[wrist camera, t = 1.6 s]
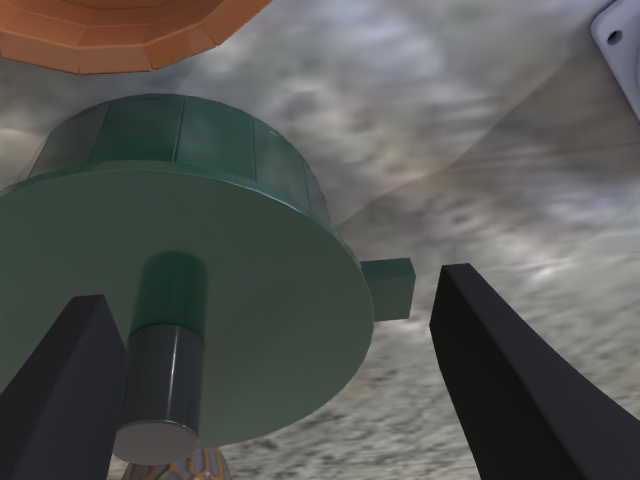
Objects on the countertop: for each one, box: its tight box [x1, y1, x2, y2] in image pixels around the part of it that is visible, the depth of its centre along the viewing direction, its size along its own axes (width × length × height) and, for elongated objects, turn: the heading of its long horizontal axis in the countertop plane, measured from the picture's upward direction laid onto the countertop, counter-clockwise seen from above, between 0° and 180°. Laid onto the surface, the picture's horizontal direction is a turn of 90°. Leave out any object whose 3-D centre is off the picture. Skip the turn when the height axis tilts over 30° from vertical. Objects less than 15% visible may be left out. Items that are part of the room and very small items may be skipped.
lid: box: [0, 160, 374, 465], centre depth 17 cm, size 15×15×5 cm
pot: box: [16, 94, 416, 322], centre depth 21 cm, size 13×18×6 cm
